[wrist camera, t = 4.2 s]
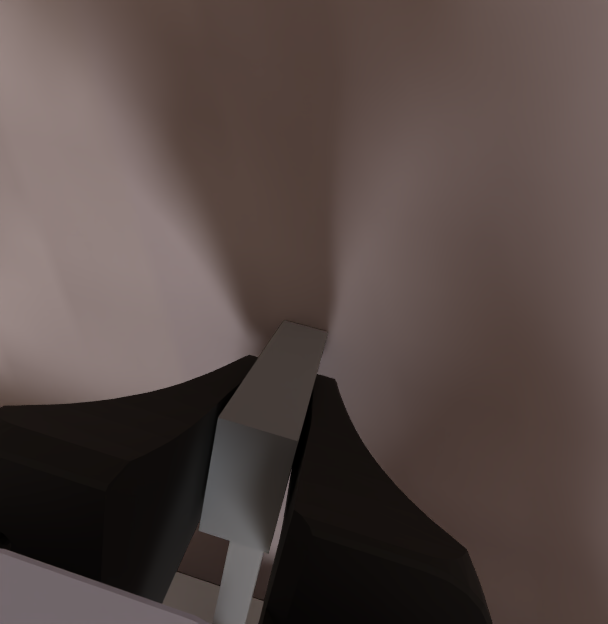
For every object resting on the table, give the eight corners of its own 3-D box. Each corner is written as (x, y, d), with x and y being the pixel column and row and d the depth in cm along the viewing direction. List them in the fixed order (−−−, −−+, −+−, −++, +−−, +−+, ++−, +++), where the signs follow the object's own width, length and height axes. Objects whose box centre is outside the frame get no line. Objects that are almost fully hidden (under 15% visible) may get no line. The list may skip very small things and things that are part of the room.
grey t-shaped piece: (419, 356, 12) (468, 492, 6) (316, 637, 17) (293, 855, 11) (198, 296, 13) (66, 372, 7) (160, 583, 18) (64, 764, 12)
